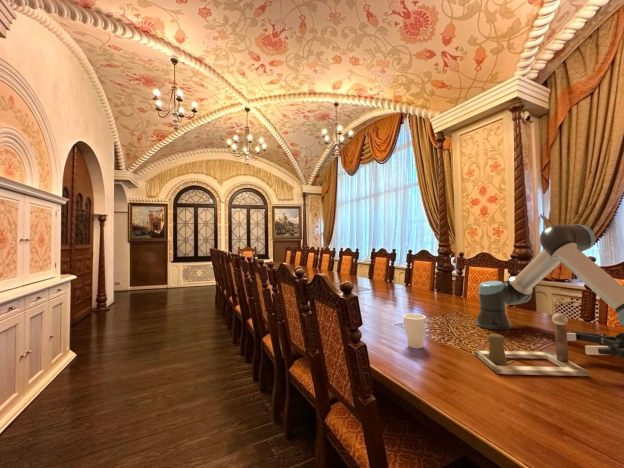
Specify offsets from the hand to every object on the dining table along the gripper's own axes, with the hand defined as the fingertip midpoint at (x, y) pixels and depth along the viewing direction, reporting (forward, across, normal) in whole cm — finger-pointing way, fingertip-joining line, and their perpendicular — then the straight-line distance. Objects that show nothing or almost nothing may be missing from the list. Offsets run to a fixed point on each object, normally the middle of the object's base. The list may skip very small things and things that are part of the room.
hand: (570, 343), depth 101 cm
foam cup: (+50, +18, -8) cm, 54 cm away
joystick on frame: (+15, 0, -8) cm, 17 cm away
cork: (+25, 0, -8) cm, 26 cm away
